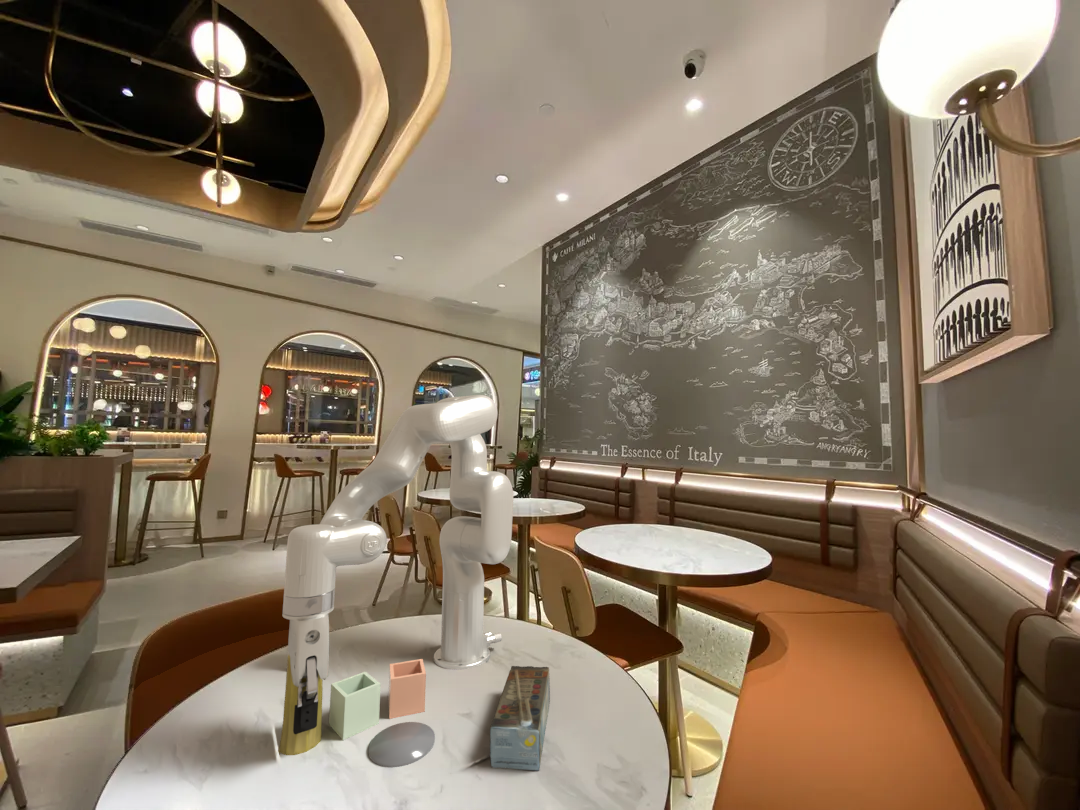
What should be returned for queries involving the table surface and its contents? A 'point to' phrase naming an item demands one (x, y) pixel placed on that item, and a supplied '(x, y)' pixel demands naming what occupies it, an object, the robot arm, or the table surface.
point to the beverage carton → (521, 719)
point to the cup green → (354, 705)
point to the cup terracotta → (406, 688)
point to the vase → (289, 740)
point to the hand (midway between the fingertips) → (302, 718)
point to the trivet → (401, 744)
